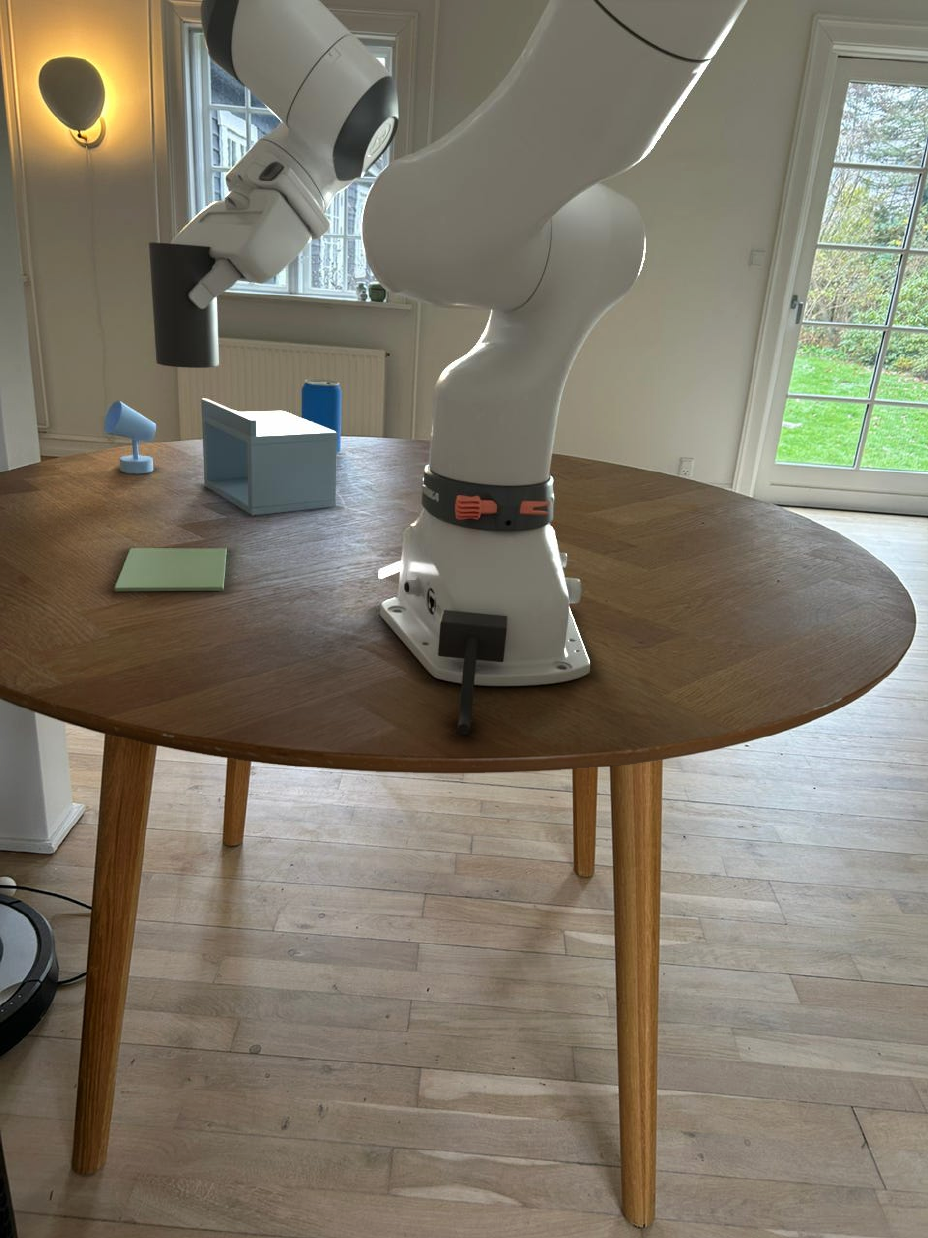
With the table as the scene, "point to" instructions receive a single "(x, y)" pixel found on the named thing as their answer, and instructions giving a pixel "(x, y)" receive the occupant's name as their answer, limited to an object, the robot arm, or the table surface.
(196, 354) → the dark grey cylinder
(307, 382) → the beverage can
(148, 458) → the spotlight
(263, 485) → the shelf
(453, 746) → the table surface
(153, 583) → the mat
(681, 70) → the robot arm
